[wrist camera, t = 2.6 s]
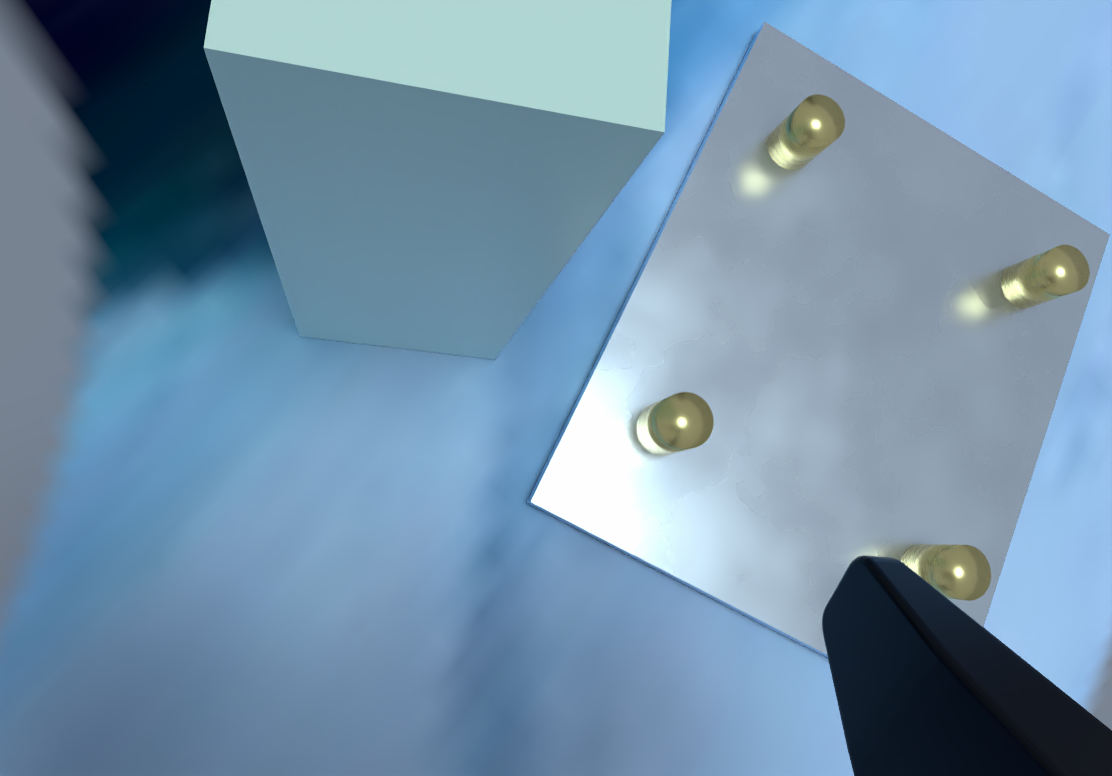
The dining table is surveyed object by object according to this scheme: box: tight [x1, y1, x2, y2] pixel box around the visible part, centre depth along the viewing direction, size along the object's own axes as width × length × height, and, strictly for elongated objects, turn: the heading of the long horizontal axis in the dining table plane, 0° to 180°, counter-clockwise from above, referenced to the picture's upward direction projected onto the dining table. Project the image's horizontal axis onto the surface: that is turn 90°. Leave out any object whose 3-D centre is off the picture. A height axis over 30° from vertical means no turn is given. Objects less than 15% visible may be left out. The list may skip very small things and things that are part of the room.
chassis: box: [527, 22, 1110, 658], centre depth 23 cm, size 16×13×2 cm
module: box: [204, 0, 671, 360], centre depth 16 cm, size 6×5×13 cm
